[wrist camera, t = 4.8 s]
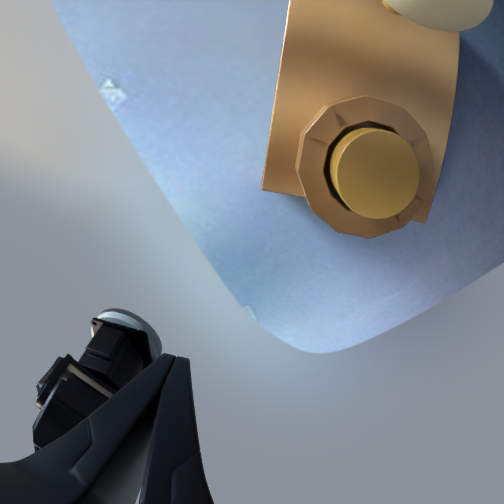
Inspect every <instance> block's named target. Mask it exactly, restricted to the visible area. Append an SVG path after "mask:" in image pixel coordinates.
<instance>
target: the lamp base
mask: <svg viewBox="0 0 504 504" xmlns="http://www.w3.org/2000/svg"><path fill="white" fill-rule="evenodd" d="M459 46H460V31H458V32H444V31H439V30H434V29H430V28H427V27H424V26H422V25H419V24H417V23H415V22H413V21H411V20H409V19H407V18H406V17H404V16H401V15H396V14H394V13H392V12H390V11H389V10H388V9H387V8H386V7H385V6H384V5H383V3H382V0H289V7H288V13H287V20H286V27H285V33H284V40H283V46H282V53H281V60H280V66H279V73H278V80H277V86H276V93H275V100H274V106H273V113H272V120H271V126H270V133H269V140H268V146H267V153H266V160H265V166H264V173H263V180H262V186H261V189H262V190H264V191H271V192H277V193H283V194H289V195H294V196H300V197H305V198H306V200H307V203H308V206H309V208H310V209H311V210H312V211H313V212H314V213H315V214H316V215H318V216H319V217H320V218H321V219H322V220H323V221H325V222H326V223H327V224H328V225H329V226H330V227H332V228H333V229H334V230H335V231H337V232H339V233H344V234H349V235H355V236H360V237H365V238H373V237H376V236H379V235H382V234H385V233H388V232H391V231H394V230H397V229H400V228H402V227H404V226H405V225H406V224H407V222H408V221H409V220H413V221H417V222H421V223H426V220H427V217H428V214H429V211H430V207H431V204H432V201H433V197H434V194H435V190H436V187H437V183H438V179H439V176H440V172H441V168H442V164H443V159H444V155H445V151H446V146H447V141H448V136H449V131H450V126H451V120H452V114H453V108H454V101H455V93H456V85H457V75H458V63H459ZM367 127H369V128H376V129H381V130H386V131H390V132H393V133H395V134H397V135H399V136H400V137H402V138H403V139H404V140H405V141H406V142H407V143H408V144H409V145H410V146H411V147H412V149H413V151H414V152H415V154H416V157H417V159H418V163H419V168H420V181H419V186H418V189H417V192H416V194H415V196H414V198H413V200H412V201H411V202H410V204H409V205H408V206H407V207H406V208H405V209H404V210H402V211H401V212H400V213H398V214H396V215H394V216H392V217H389V218H385V219H370V218H366V217H363V216H361V215H358V214H357V213H355V212H354V211H352V210H351V209H350V208H349V207H348V206H347V205H346V204H345V202H344V201H343V200H342V198H341V197H340V195H339V194H338V192H337V191H336V189H335V187H334V185H333V183H332V180H331V177H330V158H331V155H332V152H333V150H334V148H335V146H336V144H337V143H338V142H339V140H340V139H341V138H342V137H343V136H345V135H346V134H347V133H349V132H351V131H353V130H356V129H359V128H367Z"/></svg>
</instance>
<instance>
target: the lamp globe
mask: <svg viewBox="0 0 504 504" xmlns="http://www.w3.org/2000/svg"><path fill="white" fill-rule="evenodd" d="M493 2H494V0H382V3H383V5H384V6H385V7H386V8H387V9H388V10H389V11H390V12H392V13H394V14H396V15H401V16H404V17H406V18H407V19H409V20H411V21H413V22H415V23H417V24H419V25H422V26H424V27H427V28H430V29H434V30H439V31H444V32H458V31H465V30H468V29H471V28H473V27H476V26H477V25H479V24H480V23H482V22H483V21H484V20H485V19H486V18H487V16H488V15H489V13H490V12H491V9H492V6H493Z"/></svg>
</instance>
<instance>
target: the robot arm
mask: <svg viewBox="0 0 504 504" xmlns="http://www.w3.org/2000/svg"><path fill="white" fill-rule="evenodd" d="M91 325H92V329H93V332H94V337H93V338H92V340H91V341H90V342H89V344H88V345H87V347H86V351H85V352H84V354H83V355H82V356H81V358H80V360H79V361H78V362H77V361H76V360H74V359H73V358H72V356H71V355H69V354H67V356H66V357H65V358H62V357H58V358H57V360H56V361H55V363H54V364H53V366H52V367H51V368H50V370H49V371H48V372H47V373H46V374H45V375H44V376H43V378H42V379H41V380H40V381H39V382H38V384H37V386H36V387H37V391H38V395H37V398H38V399H37V401H36V404H35V405H36V406H37V407H38V408H39V409H41V411H40V413H39V415H38V417H37V418H36V420H35V422H34V425H33V442H34V447H35V453H33V454H31V455H30V456H28V457H26V458H24V459H22V460H19V461H15V462H8V463H0V504H135V502H136V500H137V496H138V494H139V491H140V488H141V486H142V488H141V494H140V499H139V504H214V502H213V499H212V497H211V494H210V491H209V488H208V485H207V482H206V478H205V474H204V469H203V464H202V458H201V453H200V445H199V439H198V432H197V424H196V416H195V409H194V400H193V391H192V382H191V371H190V361H189V359H188V358H184V357H179V356H178V357H176V356H174V355H170V354H166V353H164V354H162V355H161V356H159V357H158V358H157V359H156V360H155V361H153V362H152V359H151V353H150V346H149V339H148V334H147V333H146V332H145V331H142V330H138V329H134V328H130V327H127V326H123V325H119V324H116V323H112V322H109V321H105V320H102V319H99V318H95V317H94V318H93V319H92V320H91ZM140 372H141V373H140Z"/></svg>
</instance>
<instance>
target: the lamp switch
mask: <svg viewBox="0 0 504 504" xmlns="http://www.w3.org/2000/svg"><path fill="white" fill-rule="evenodd" d="M330 177H331V180H332V183H333V185H334V187H335V189H336V191H337V192H338V194H339V195H340V197H341V198H342V200H343V201H344V202H345V204H346V205H347V206H348V207H349V208H350V209H351V210H352V211H354V212H355V213H357V214H358V215H361V216H363V217H366V218H370V219H385V218H389V217H392V216H394V215H396V214H398V213H400V212H401V211H402V210H404V209H405V208H406V207H407V206H408V205H409V204H410V202H411V201H412V200H413V198H414V196H415V194H416V192H417V189H418V186H419V181H420V168H419V163H418V159H417V157H416V154H415V152H414V151H413V149H412V147H411V146H410V145H409V144H408V143H407V142H406V141H405V140H404V139H403V138H402V137H400V136H399V135H397V134H395V133H393V132H390V131H386V130H381V129H376V128H369V127H367V128H359V129H356V130H353V131H351V132H349V133H347V134H346V135H345V136H343V137H342V138H341V139H340V140H339V142H338V143H337V144H336V146H335V148H334V150H333V152H332V155H331V158H330Z"/></svg>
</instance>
